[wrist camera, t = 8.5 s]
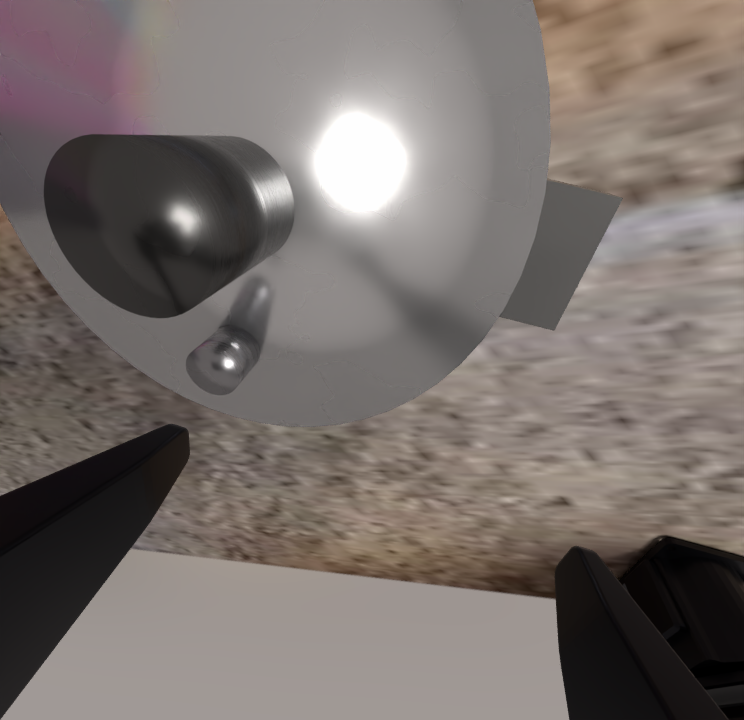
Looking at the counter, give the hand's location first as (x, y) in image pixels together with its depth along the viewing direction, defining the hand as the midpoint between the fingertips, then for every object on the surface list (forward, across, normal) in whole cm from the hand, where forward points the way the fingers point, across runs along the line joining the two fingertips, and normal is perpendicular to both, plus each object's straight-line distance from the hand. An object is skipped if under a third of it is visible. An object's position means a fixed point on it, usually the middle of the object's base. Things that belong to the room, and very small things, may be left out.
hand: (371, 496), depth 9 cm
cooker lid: (+5, +5, -5) cm, 9 cm away
